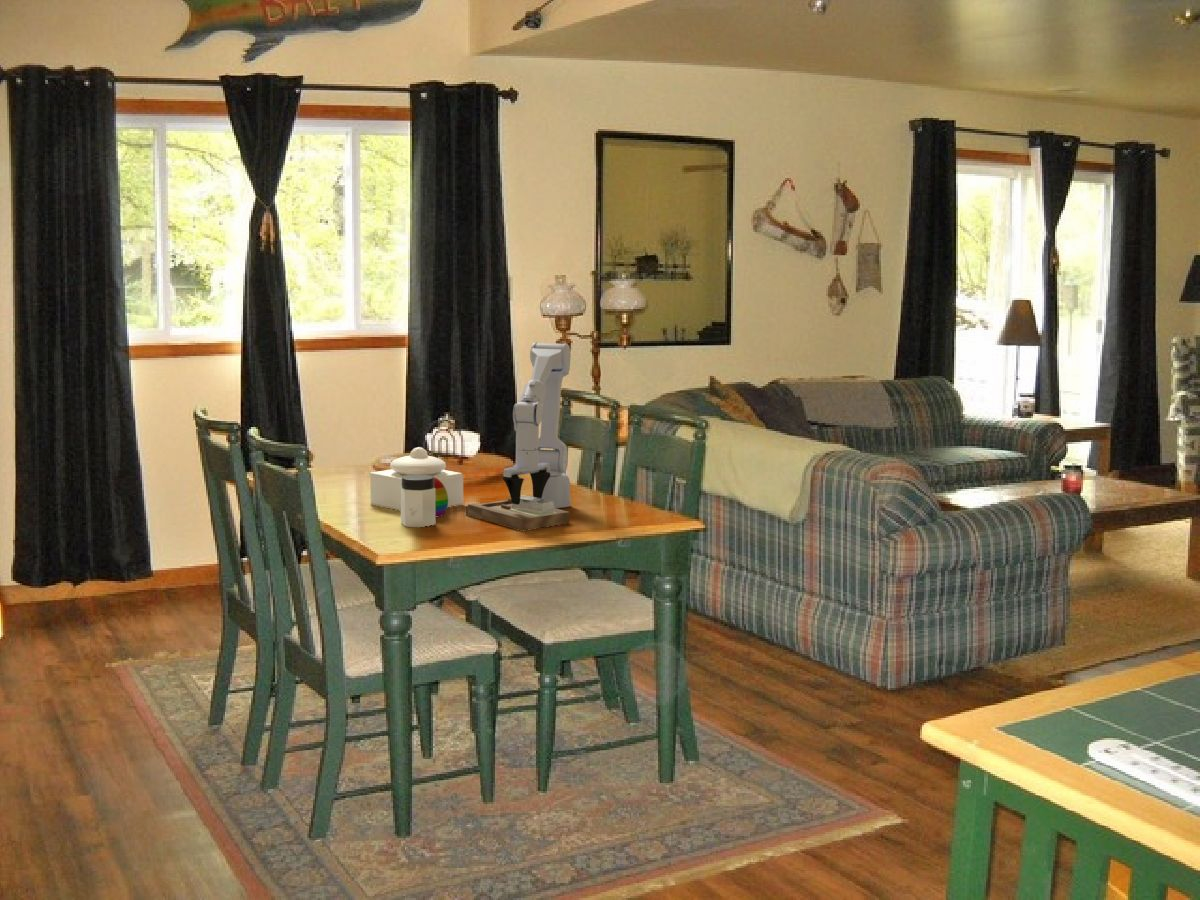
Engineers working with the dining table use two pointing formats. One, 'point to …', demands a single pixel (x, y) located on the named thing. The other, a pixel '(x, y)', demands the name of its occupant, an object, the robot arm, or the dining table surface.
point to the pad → (530, 513)
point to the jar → (418, 501)
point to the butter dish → (418, 462)
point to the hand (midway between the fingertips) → (526, 501)
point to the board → (514, 515)
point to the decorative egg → (440, 497)
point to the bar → (534, 505)
